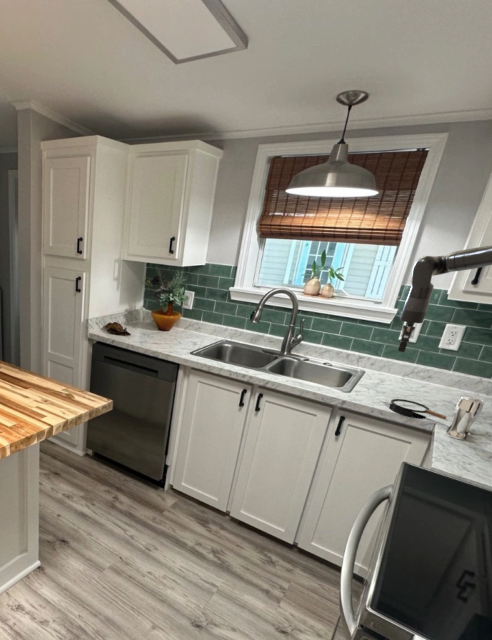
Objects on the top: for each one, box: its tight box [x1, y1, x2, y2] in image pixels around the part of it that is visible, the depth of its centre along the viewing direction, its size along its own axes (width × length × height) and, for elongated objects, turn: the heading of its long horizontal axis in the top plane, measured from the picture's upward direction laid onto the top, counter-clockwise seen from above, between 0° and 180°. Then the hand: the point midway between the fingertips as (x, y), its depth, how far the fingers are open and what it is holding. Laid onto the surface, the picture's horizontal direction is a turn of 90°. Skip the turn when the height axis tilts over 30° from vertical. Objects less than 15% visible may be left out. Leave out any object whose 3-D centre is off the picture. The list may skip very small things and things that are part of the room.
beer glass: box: [445, 395, 486, 441], centre depth 149 cm, size 7×7×15 cm
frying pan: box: [388, 398, 447, 420], centre depth 167 cm, size 20×13×4 cm, turn 24°
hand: (401, 349), depth 165 cm, fingers open, 8 cm apart
